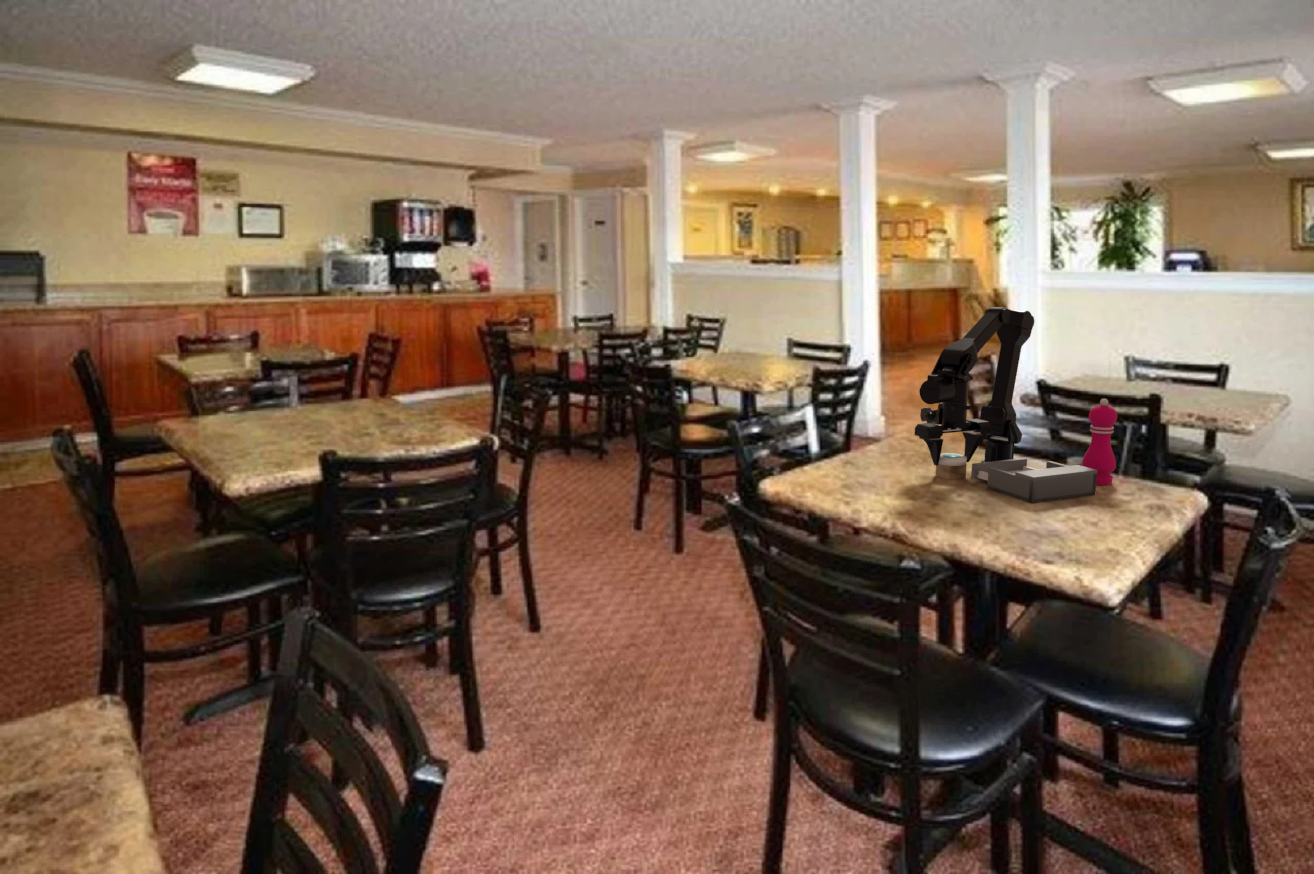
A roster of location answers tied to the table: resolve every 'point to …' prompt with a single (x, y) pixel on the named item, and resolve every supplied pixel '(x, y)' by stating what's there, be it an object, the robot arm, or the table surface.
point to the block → (951, 471)
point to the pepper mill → (1101, 442)
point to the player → (1045, 482)
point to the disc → (952, 459)
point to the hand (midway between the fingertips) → (951, 463)
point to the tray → (999, 467)
